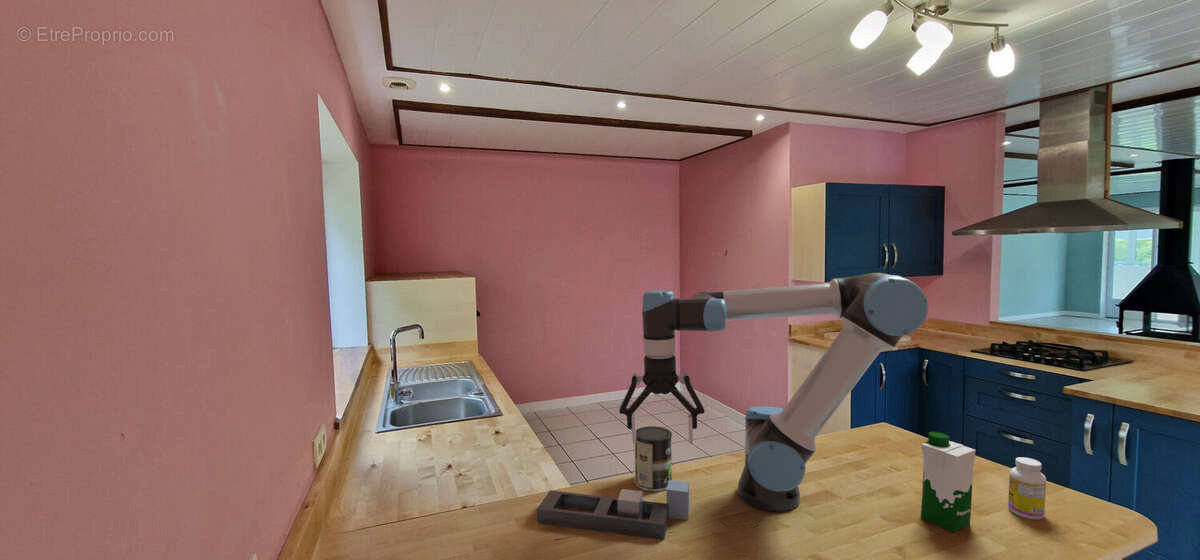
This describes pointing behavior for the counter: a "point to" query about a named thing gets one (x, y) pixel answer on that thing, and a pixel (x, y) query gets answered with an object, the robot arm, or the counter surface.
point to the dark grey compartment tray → (602, 515)
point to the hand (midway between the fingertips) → (662, 441)
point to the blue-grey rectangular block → (678, 499)
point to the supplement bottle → (1027, 489)
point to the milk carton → (947, 482)
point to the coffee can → (653, 458)
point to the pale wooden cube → (630, 504)
